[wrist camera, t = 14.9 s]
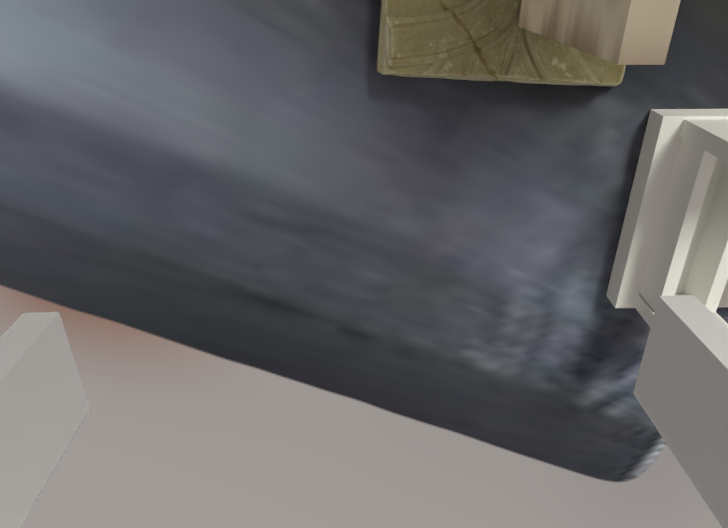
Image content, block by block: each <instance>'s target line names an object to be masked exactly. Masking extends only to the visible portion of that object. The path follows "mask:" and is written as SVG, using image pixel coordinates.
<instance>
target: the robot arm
mask: <svg viewBox="0 0 728 528" xmlns="http://www.w3.org/2000/svg"><path fill="white" fill-rule="evenodd" d="M633 394H634V395H635V397H636V398H637V400H638V401H639V403H640V404H641V406H642V407H643V409H644V410H645V412H646V413H647V415H648V416H649V418H650V419H651V421H652V422H653V424H654V425H655V427H656V428H657V430H658V431H659V433H660V434H661V436H662V437H663V439H664V440H665V442H666V443H667V445H668V446H669V448H670V449H671V451H672V452H673V454H674V455H675V457H676V458H677V460H678V462H679V463H680V464H681V466H682V468H683V469H684V470H685V472H686V474H687V475H688V477H689V478H690V480H691V481H692V483H693V484H694V486H695V487H696V489H697V490H698V492H699V493H700V494H701V496H702V498H703V499H704V501H705V502H706V504H707V505H708V507H709V508H710V510H711V511H712V513H713V514H714V516H715V517H716V519H717V520H718V522H719V523H720V525H721V526H722V528H728V327H727V326H725V325H724V324H723V323H722V322H721V321H720V320H719V319H718V318H717V317H716V316H715V315H714V314H713V313H712V312H711V311H710V310H709V309H708V308H707V307H706V306H705V305H704V304H702V303H701V302H700V301H699V300H698V299H697V298H696V297H695V296H694V295H676V296H659V298H658V302H657V306H656V309H655V313H654V317H653V321H652V325H651V328H650V332H649V336H648V340H647V344H646V347H645V351H644V355H643V359H642V362H641V366H640V370H639V374H638V378H637V381H636V385H635V389H634V393H633ZM89 410H90V407H89V404H88V401H87V398H86V395H85V392H84V388H83V385H82V382H81V379H80V376H79V373H78V370H77V367H76V363H75V360H74V357H73V354H72V351H71V348H70V345H69V342H68V339H67V335H66V332H65V329H64V326H63V323H62V320H61V317H60V314H59V312H37V313H23V314H22V315H21V316H20V317H19V318H18V319H17V320H16V321H15V322H14V324H13V325H12V326H11V327H10V328H9V329H8V330H7V331H6V332H5V333H4V334H3V335H2V336H1V337H0V528H20V527H21V525H22V523H23V522H24V520H25V518H26V517H27V515H28V513H29V512H30V510H31V508H32V506H33V505H34V503H35V501H36V499H37V498H38V496H39V495H40V493H41V491H42V489H43V488H44V486H45V484H46V483H47V481H48V479H49V478H50V476H51V474H52V472H53V470H54V469H55V467H56V466H57V464H58V462H59V461H60V459H61V457H62V455H63V454H64V452H65V450H66V448H67V447H68V445H69V444H70V442H71V440H72V439H73V437H74V435H75V433H76V432H77V430H78V428H79V427H80V425H81V423H82V422H83V420H84V418H85V416H86V415H87V413H88V411H89Z"/></svg>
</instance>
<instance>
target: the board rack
mask: <svg viewBox="0 0 728 528" xmlns="http://www.w3.org/2000/svg"><path fill="white" fill-rule="evenodd" d="M676 295H694V296H695V297H696V298H697V299H698V300H699V301H700V302H701V303H702V304H704V305H705V306H706V307H707V308H708V309H709V310H710V311H711V312H712V313H713V314H714V315H715V316H716V317H717V318H718V319H719V320H720V321H721V322H722V323H723V324H724V325H725V326H727V327H728V324H727V323H726V322H725V321H724V320H723V319H722V318H721V317H720V316H719V315H718V314H717V313H716V310H717V308H718V307H728V109H651V110H650V114H649V118H648V122H647V127H646V131H645V135H644V139H643V143H642V147H641V152H640V156H639V160H638V164H637V168H636V173H635V177H634V181H633V185H632V189H631V193H630V198H629V202H628V206H627V210H626V214H625V218H624V223H623V227H622V231H621V235H620V239H619V244H618V248H617V252H616V256H615V260H614V264H613V269H612V273H611V277H610V281H609V285H608V289H607V294H606V296H607V297H608V299H609V300H610V302H611V303H612V304H613V306H614V307H615V308H636V310H637V311H638V312H639V314H640V315H641V316H642V318H643V319H644V320H645V321H646V323H647V324H648V325H649V327H650V328H651V325H652V321H653V317H654V313H655V309H656V306H657V302H658V298H659V296H676Z"/></svg>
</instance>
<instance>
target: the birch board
mask: <svg viewBox="0 0 728 528" xmlns="http://www.w3.org/2000/svg"><path fill="white" fill-rule="evenodd" d="M680 1H681V0H522V1H521V8H520V16H519V24H518V27H521V28H523V29H526V30H529V31H531V32H534V33H536V34H539V35H542V36H544V37H547V38H549V39H552V40H555V41H557V42H560V43H562V44H565V45H568V46H570V47H573V48H575V49H578V50H581V51H583V52H586V53H588V54H591V55H594V56H596V57H599V58H601V59H604V60H607V61H609V62H612V63H614V64H617V65H664V64H665V60H666V56H667V52H668V48H669V44H670V40H671V36H672V32H673V28H674V24H675V20H676V16H677V12H678V8H679V4H680Z"/></svg>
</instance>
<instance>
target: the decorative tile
mask: <svg viewBox="0 0 728 528" xmlns="http://www.w3.org/2000/svg"><path fill="white" fill-rule="evenodd" d="M521 1H522V0H381V12H380V26H379V39H378V54H377V71H378V72H380V73H381V74H383V75H396V76H402V77H425V78H446V79H453V80H472V81H511V82H518V83H534V84H552V85H590V86H612V87H615V86H617V85H618V84H620V83H621V81H622V79H623V76H624V73H625V65H617V64H614V63H612V62H609V61H607V60H604V59H601V58H599V57H596V56H594V55H591V54H588V53H586V52H583V51H581V50H578V49H575V48H573V47H570V46H568V45H565V44H562V43H560V42H557V41H555V40H552V39H549V38H547V37H544V36H542V35H539V34H536V33H534V32H531V31H529V30H526V29H523V28H521V27H518V24H519V16H520V8H521Z"/></svg>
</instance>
